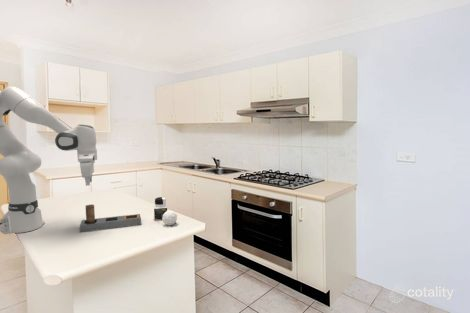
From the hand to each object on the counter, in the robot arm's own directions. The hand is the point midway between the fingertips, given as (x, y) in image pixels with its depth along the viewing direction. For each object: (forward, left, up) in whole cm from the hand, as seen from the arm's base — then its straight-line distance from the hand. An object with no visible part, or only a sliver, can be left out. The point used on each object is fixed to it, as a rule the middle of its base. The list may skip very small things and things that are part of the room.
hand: (88, 183), depth 146 cm
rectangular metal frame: (+6, +7, -23) cm, 25 cm away
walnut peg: (0, 0, -23) cm, 23 cm away
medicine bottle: (+20, +29, -24) cm, 43 cm away
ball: (+32, +23, -24) cm, 47 cm away
